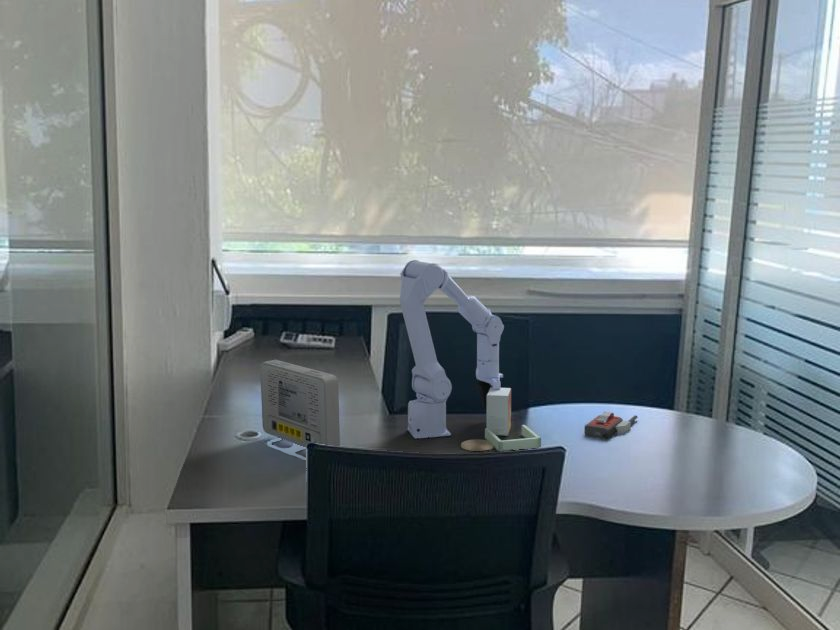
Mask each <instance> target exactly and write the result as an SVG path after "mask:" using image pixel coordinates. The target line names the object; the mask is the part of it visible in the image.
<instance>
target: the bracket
mask: <svg viewBox="0 0 840 630" xmlns="http://www.w3.org/2000/svg"><path fill="white" fill-rule="evenodd" d="M521 436H523V437H524V438H516V439H515V438H514V439H506V440H502V439H500V438H499V437H498V435H495V434H494V433H493V432H492V431H491V430H489V429H488V428H487V427H486V428H484V440H487V441H490V442H491V443H492V444H493V445H494V449H496V451H498V450H499V451H502V450H510V449H513V450H515V451H520V450H519V449H525V450H532V449H531V448H535V449H540V448H539V447H541V448H542V438H541V436H540V435H538V434H537V433H535V432H534V431H533V430H532V429H531V428H530V427H529V426H527V425H525V424H522V425H521ZM499 451H498V452H499Z"/></svg>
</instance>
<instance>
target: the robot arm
mask: <svg viewBox="0 0 840 630" xmlns="http://www.w3.org/2000/svg"><path fill="white" fill-rule="evenodd" d="M399 276H400V278H401V287H400V294H399V303H400V308H401V312H402V315H403V319H404V323H405V326H406V330H407V331H406V332H407V335H408V339H409V343H410V347H411V351H412V355H413V356H412V357H413V358H414V359H413V360H414V363H415V365H414V367H413V368H412V369H411V374H412V379H411V388H412V390H413V391H414V392H415V393H416V394H415V396H416V399H414V400H409V402H408V404H407V431H408V432H409V433H410V435H411V436H412V437H413V438H414V439H417V438H418V439H427V438H428V437H429V438H438V437H450V436H452V433H451V432H450V431H449V430H448V429H447V404H446V403H447V401H448V398H449V397H450V395H451V393H452V389H453V385H452V383H451V380H450V379H449V378H448V376H447V375H446V371H445V369H444V368H443V367H442V365H441V364H440V363H439V361H438V359H437V354H436V349H435V346H434V342H433V338H432V334H431V330H430V326H429V322H428V318H427V314H426V310H425V305H424V304H425V302H426V300H428V298H430V297H431V296H432V295H433V294H434V293H435V292H436V291H437V290H440V291H441V292H442V293H443V294H444V295H445V296H447V297H448V298H449V299H450V300H451V301H453V302H454V303H455V304H456V305H457V311H458V313H459V314H460V315H461V316H462V318H464V319H465V320H466V321H467V322H468V323H469V324H470V325H471V328H472V331H473V332H474V333H476V352H477V353H476V368H475V376H476V380H479V381H476V382H475V385H476V387H477V390H478V393H479V395H480V400H481V404H482V408H483V410H485V411H487V394H488V392H489V390H490V387H492V389H493V390H494V389H501V388H502V387H501V384H502V383H501V381H500V380H501V379H503V378H504V374H503V373H501V372H500V342H501V336H502V334H503V331H504V329H505V325H504V324H503V322H502V319H501V318H500V317H499V316H498V315H494V314H492V312H491V311H492V310H491V309H490V308H488V307H486V305H484V304H483V303H482V302H481V298H480V297H479V296H476V295H467V294H466V293H465V292H464V290H463V289H462V288H461V287H460V285H458V284H457V283H456V281H455V280H454V279H453V278H452V277H451V276H450V275H449V273H448V271H447V270H445V269H443V267H442V266H441V265H440V264H438V263H434V262H432V263H431V262H426V261H420V260H418V259H417V260H416V259H412V260H409V261H408V262H407V263H406V264H405V265H404V267H403V269H402V270H401V271H400V274H399ZM500 378H501V379H500Z"/></svg>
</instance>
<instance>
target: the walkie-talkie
mask: <svg viewBox="0 0 840 630" xmlns="http://www.w3.org/2000/svg"><path fill="white" fill-rule="evenodd" d="M638 418H639V417H638V415H636V414H635V415H633V416H632V417H631V418H630V419H629V420H623V418H622V417H619V416H615V414H614V412H610V411H609V412H608V411H604V412H602V413H600V414H599V415H597V416H596V417H595V418H593V419H592V420H590V422H588V423H586V424H585V425H584V434H585V436H586V437H591V438H592V437H593V438H598V439H604V440H609V439H610V438H611V437H612V436H614V435H619V434H620V435H621V434H626V432H628V431H629V430H631V427H632V426H631V425H632V424H633V422H635V421H636V420H637V419H638Z"/></svg>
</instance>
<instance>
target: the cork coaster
mask: <svg viewBox="0 0 840 630" xmlns="http://www.w3.org/2000/svg"><path fill="white" fill-rule="evenodd" d="M460 447H461V448H462V449H463V450H464V449H465V451H467V450H468V452H473V451H482V450H489V451H491V450H493V449H495V447H494V445H493V444H492V443H491V442H490V441H487V440H486V439H468V440H465V441H462V442H461V445H460Z"/></svg>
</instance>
